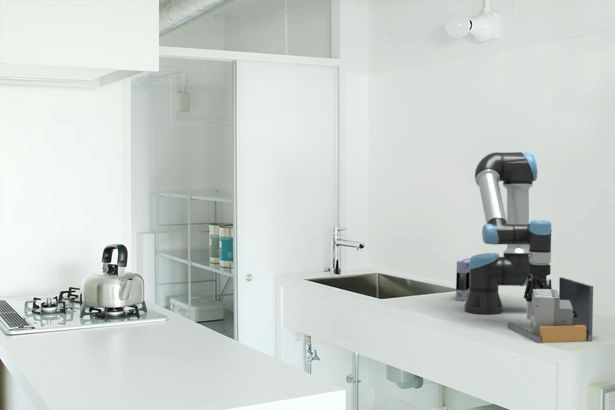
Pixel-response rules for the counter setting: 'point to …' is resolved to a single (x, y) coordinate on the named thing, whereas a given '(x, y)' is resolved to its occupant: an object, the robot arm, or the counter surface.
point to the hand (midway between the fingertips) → (538, 322)
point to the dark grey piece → (580, 303)
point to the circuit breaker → (550, 310)
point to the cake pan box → (462, 279)
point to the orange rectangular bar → (563, 333)
